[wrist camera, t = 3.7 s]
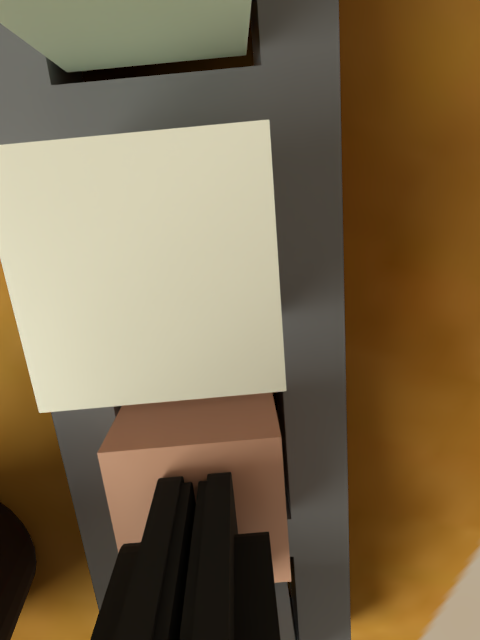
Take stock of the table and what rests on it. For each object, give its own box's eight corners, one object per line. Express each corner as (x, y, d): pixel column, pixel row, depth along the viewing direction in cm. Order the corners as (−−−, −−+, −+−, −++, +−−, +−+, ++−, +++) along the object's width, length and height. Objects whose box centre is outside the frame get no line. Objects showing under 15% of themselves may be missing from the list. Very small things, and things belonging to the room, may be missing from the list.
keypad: (-37, -184, 10) (-122, -304, 7) (307, -219, 10) (331, -352, 7) (139, 642, 17) (124, 714, 15) (335, 626, 17) (351, 695, 15)
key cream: (84, 167, 10) (-28, 147, 6) (253, 151, 10) (269, 119, 6) (113, 328, 11) (39, 413, 7) (265, 314, 11) (286, 391, 7)
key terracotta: (140, 369, 13) (96, 453, 9) (265, 359, 13) (281, 436, 9) (158, 477, 15) (127, 595, 10) (273, 466, 15) (291, 581, 10)
